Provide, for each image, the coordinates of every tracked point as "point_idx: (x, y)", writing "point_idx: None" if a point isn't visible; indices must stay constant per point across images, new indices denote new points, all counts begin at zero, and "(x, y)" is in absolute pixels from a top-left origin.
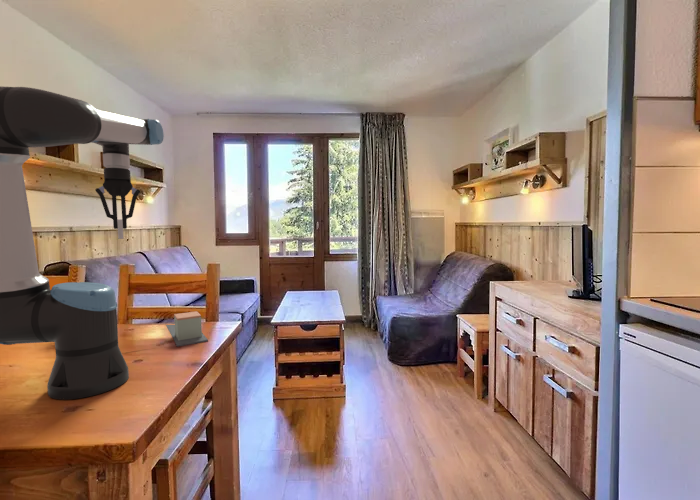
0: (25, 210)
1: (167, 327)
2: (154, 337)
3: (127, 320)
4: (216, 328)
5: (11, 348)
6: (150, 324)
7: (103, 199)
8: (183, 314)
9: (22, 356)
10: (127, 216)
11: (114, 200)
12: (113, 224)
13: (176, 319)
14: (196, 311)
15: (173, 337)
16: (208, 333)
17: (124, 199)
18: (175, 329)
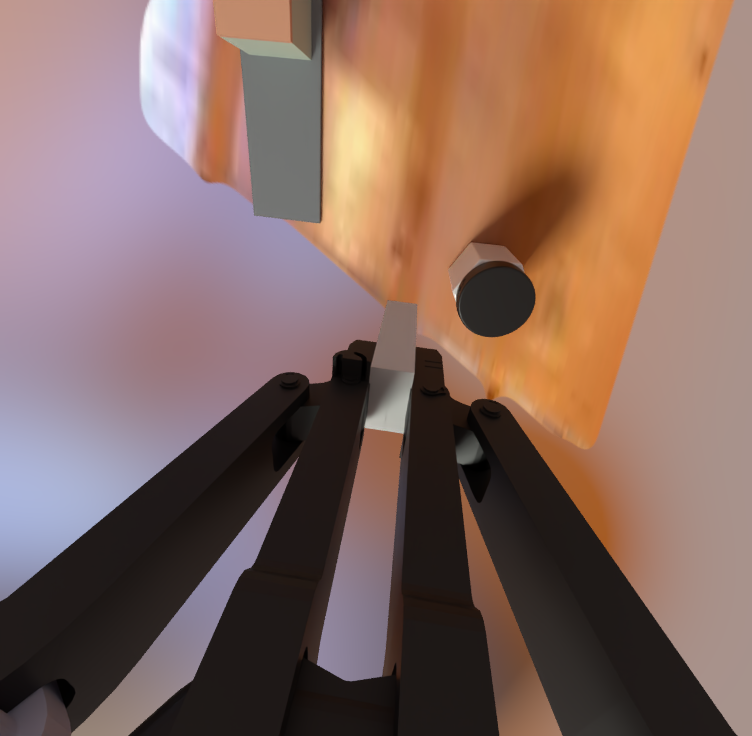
0: None
1: (319, 183)
2: (362, 102)
3: None
4: (197, 75)
5: (642, 258)
6: (351, 270)
7: (612, 610)
8: (262, 4)
9: (652, 151)
10: (318, 394)
11: (432, 567)
12: (442, 368)
13: None
14: (218, 31)
15: (318, 29)
16: None
17: (269, 562)
18: (305, 34)
